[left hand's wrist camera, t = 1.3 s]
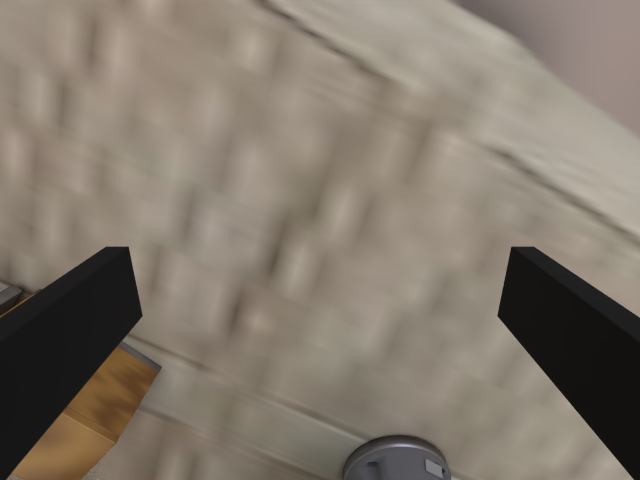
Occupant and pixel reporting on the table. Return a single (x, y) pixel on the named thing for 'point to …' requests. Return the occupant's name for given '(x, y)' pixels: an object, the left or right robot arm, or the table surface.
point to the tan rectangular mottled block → (91, 418)
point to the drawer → (8, 298)
